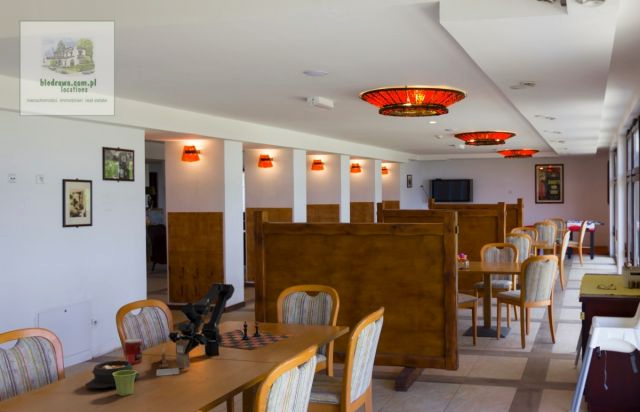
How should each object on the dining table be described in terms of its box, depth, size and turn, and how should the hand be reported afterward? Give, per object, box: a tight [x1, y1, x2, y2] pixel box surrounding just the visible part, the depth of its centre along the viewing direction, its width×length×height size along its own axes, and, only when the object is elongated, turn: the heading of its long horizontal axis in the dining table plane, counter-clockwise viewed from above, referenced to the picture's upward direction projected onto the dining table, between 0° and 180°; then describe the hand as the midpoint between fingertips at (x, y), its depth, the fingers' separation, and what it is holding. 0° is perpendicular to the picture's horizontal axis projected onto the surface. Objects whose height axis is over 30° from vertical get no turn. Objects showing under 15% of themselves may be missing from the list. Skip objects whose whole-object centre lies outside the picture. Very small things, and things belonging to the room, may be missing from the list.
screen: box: [159, 347, 169, 368], centre depth 326 cm, size 4×14×6 cm, turn 13°
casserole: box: [84, 360, 140, 389], centre depth 293 cm, size 25×19×8 cm
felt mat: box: [155, 367, 180, 377], centre depth 310 cm, size 10×10×1 cm
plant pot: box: [113, 369, 138, 397], centre depth 278 cm, size 9×9×9 cm
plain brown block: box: [175, 340, 190, 369], centre depth 318 cm, size 4×4×12 cm
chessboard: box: [199, 321, 295, 351], centre depth 376 cm, size 40×40×11 cm
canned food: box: [124, 337, 143, 365], centre depth 329 cm, size 8×8×11 cm
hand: (180, 353), depth 317 cm, fingers closed on plain brown block, 4 cm apart
